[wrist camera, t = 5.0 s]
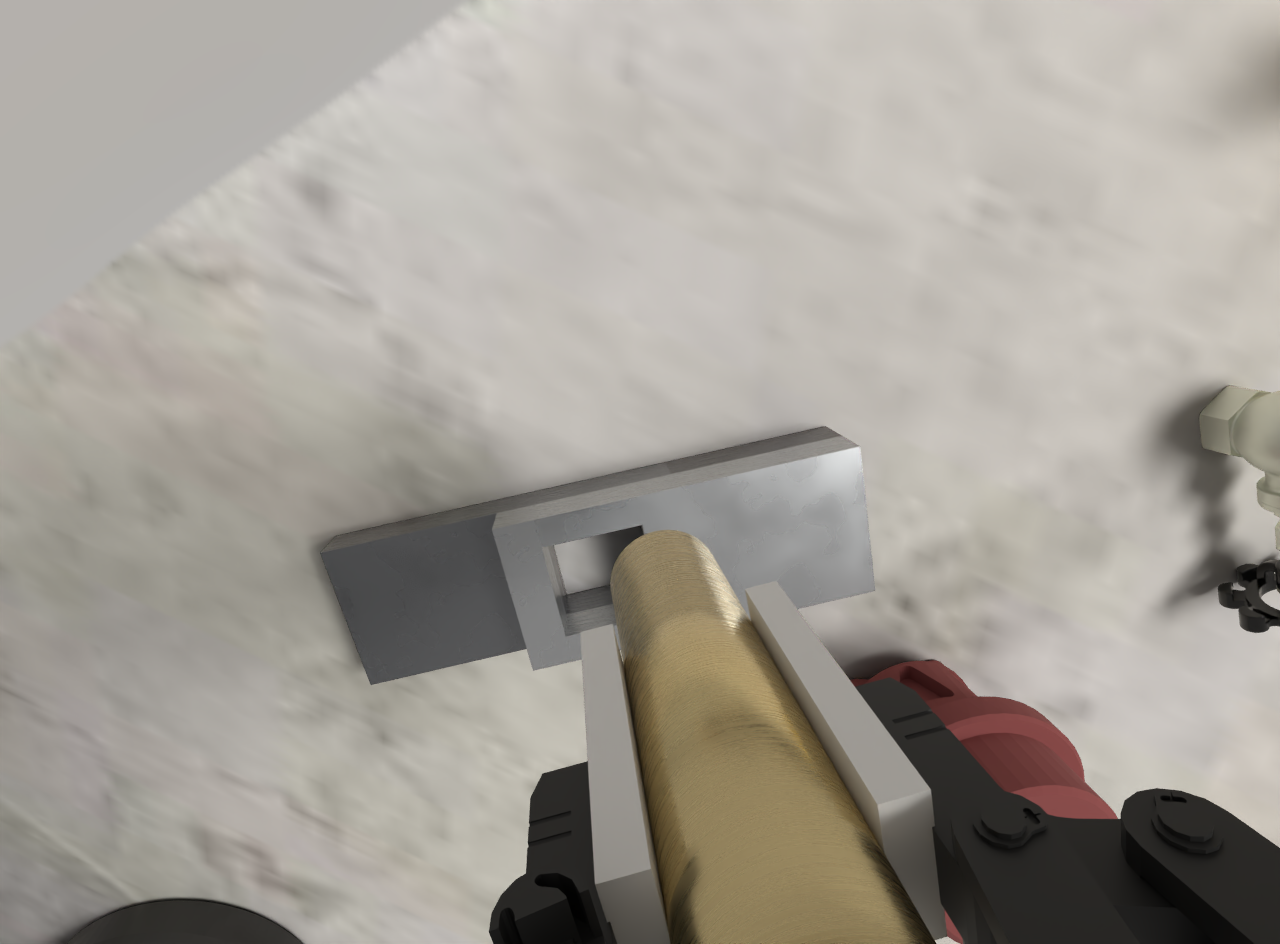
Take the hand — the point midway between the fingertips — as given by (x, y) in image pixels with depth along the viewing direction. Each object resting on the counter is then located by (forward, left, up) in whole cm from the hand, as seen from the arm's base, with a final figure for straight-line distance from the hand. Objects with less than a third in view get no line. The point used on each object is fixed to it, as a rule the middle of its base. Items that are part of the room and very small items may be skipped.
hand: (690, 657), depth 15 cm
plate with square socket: (-2, -4, -17) cm, 17 cm away
